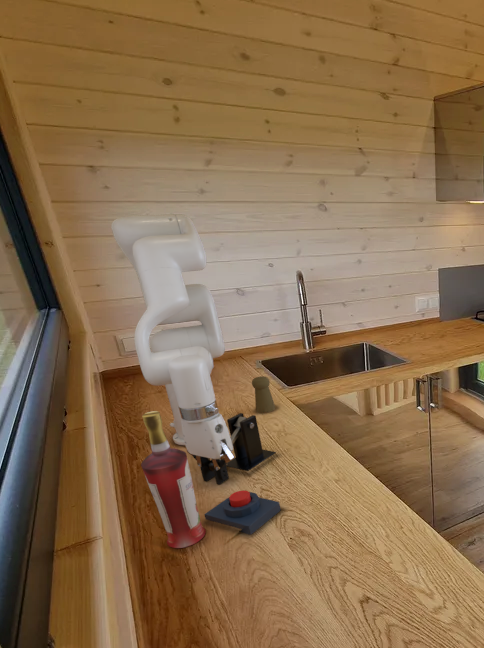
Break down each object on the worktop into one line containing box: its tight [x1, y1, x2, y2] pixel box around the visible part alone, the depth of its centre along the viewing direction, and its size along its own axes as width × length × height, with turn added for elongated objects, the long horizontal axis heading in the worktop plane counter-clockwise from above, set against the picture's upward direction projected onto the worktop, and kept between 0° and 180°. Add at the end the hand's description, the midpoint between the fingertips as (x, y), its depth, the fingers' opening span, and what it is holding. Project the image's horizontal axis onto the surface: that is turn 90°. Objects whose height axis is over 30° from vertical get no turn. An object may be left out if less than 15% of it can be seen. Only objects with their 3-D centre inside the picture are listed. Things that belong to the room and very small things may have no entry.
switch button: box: [228, 490, 251, 507], centre depth 103 cm, size 4×4×2 cm
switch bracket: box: [226, 412, 277, 472], centre depth 124 cm, size 10×8×13 cm
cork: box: [251, 375, 276, 414], centre depth 156 cm, size 6×6×11 cm
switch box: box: [204, 491, 282, 536], centre depth 104 cm, size 12×9×4 cm
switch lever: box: [208, 416, 247, 472], centre depth 119 cm, size 15×3×3 cm
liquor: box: [140, 410, 207, 549], centre depth 92 cm, size 7×7×28 cm
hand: (216, 479), depth 117 cm, fingers closed on switch lever, 3 cm apart
